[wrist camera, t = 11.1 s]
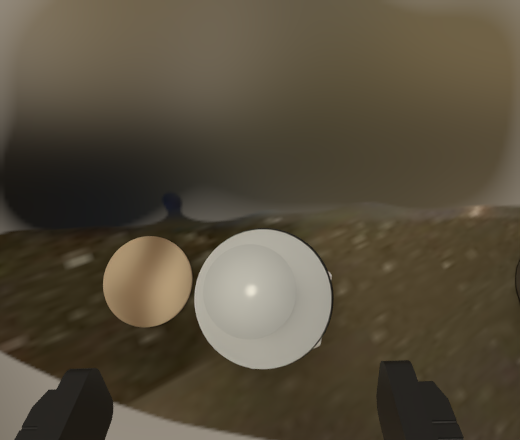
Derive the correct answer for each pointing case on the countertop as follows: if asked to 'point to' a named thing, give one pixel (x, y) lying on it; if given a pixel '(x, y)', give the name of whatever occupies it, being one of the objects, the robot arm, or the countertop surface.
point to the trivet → (147, 281)
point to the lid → (262, 299)
